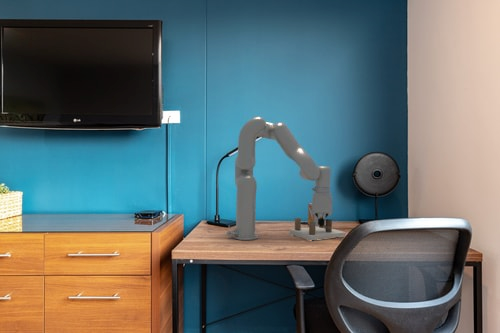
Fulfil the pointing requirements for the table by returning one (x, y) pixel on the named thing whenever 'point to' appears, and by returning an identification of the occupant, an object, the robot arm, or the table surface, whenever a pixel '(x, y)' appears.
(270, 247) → the table surface
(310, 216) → the small box
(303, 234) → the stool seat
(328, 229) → the grey and brown lever
